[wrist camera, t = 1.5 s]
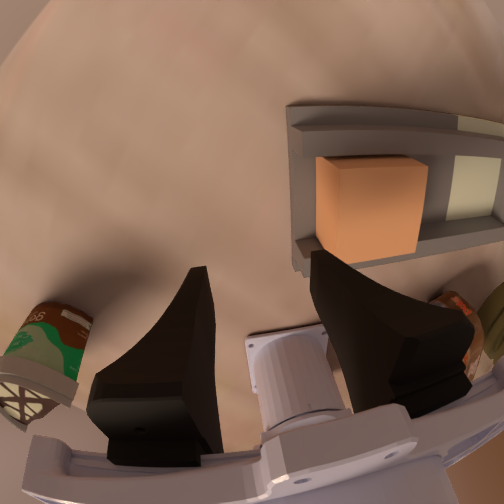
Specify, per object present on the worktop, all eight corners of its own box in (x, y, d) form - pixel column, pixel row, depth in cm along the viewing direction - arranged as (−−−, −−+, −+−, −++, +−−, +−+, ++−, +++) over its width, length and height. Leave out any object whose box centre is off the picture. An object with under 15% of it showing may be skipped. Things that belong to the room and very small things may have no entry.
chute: (484, 233, 25) (505, 249, 22) (292, 264, 24) (303, 291, 21) (502, 123, 19) (528, 133, 16) (285, 106, 18) (300, 110, 15)
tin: (425, 286, 28) (470, 341, 21) (448, 273, 27) (494, 324, 20) (424, 360, 35) (451, 405, 28) (442, 349, 35) (470, 393, 28)
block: (387, 226, 22) (414, 252, 18) (315, 235, 21) (335, 266, 18) (394, 150, 19) (428, 166, 15) (315, 152, 18) (339, 169, 15)
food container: (50, 266, 21) (-3, 354, 13) (102, 311, 24) (73, 406, 16) (6, 327, 24) (-28, 398, 15) (48, 360, 27) (23, 433, 18)
